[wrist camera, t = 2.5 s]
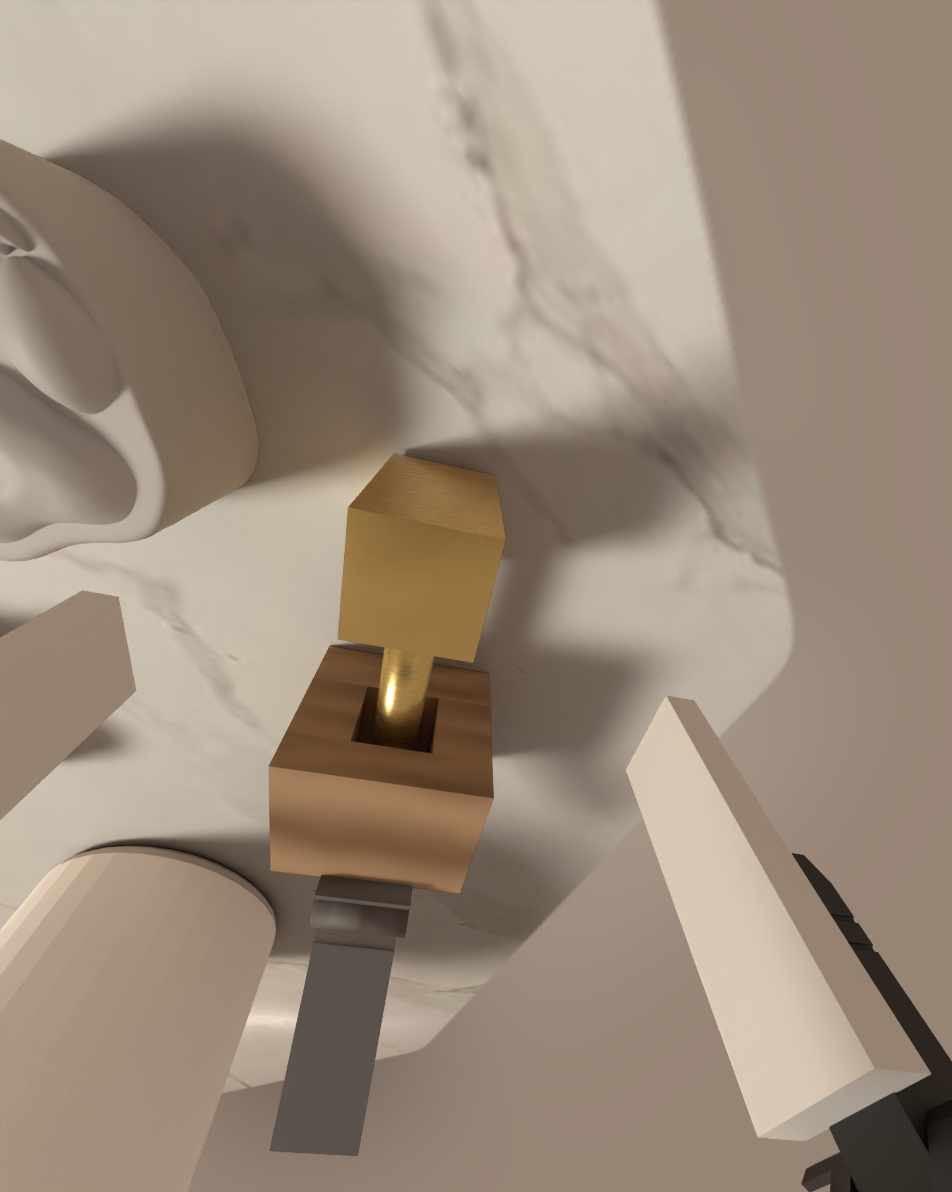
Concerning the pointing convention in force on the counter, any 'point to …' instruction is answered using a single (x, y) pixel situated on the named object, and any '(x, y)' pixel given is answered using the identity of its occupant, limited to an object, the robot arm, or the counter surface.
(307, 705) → the block
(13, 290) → the lumpy-topped squat cylinder
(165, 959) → the bucket
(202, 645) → the counter surface
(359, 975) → the lever
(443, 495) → the pin
